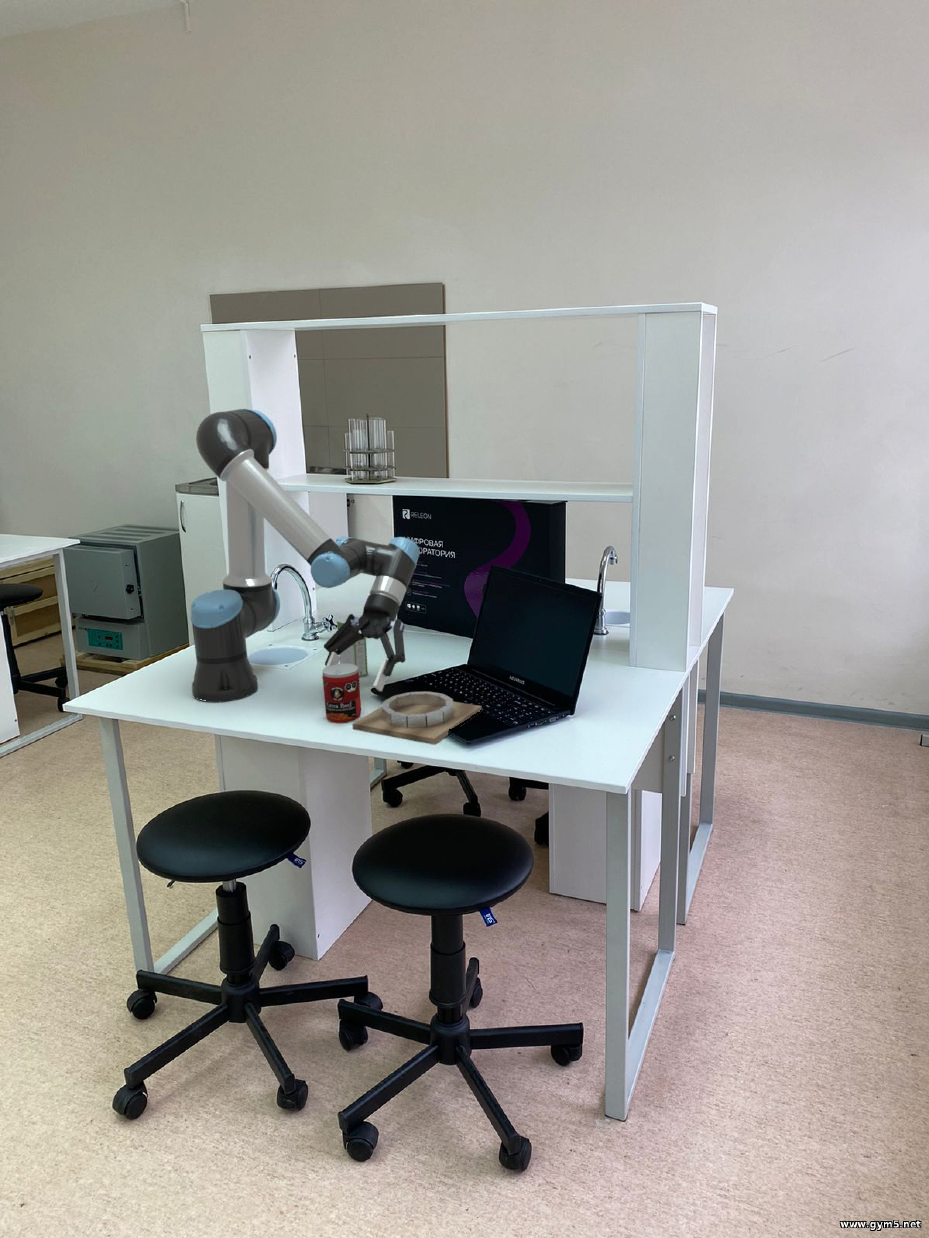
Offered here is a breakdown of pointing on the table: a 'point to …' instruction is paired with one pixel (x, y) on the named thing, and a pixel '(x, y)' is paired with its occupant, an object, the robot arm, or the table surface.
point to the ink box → (355, 655)
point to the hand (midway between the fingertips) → (351, 684)
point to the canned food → (342, 693)
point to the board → (427, 735)
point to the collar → (417, 719)
